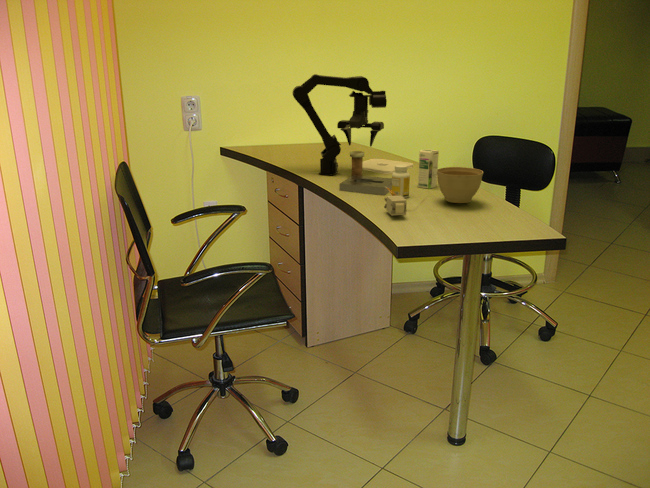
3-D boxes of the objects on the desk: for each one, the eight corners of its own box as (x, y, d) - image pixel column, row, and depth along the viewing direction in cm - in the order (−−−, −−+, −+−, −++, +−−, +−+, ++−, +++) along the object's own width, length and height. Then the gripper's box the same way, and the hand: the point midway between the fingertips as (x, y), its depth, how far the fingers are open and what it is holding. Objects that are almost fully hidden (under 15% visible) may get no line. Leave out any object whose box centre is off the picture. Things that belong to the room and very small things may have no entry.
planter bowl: (490, 202, 219) (492, 172, 216) (457, 208, 211) (459, 177, 208) (458, 192, 232) (460, 164, 229) (426, 198, 224) (427, 169, 221)
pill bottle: (410, 195, 229) (411, 164, 225) (407, 199, 223) (408, 168, 220) (393, 194, 231) (394, 163, 227) (389, 198, 225) (390, 166, 222)
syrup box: (417, 187, 241) (418, 150, 237) (424, 184, 246) (426, 148, 241) (430, 189, 238) (432, 152, 233) (437, 186, 243) (439, 150, 238)
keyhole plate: (339, 191, 236) (339, 183, 235) (352, 182, 250) (353, 175, 249) (384, 195, 229) (384, 187, 228) (395, 186, 243) (396, 178, 242)
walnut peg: (347, 181, 253) (347, 153, 249) (352, 178, 258) (352, 150, 254) (361, 182, 250) (361, 154, 247) (365, 179, 256) (366, 151, 252)
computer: (390, 177, 260) (390, 171, 259) (347, 171, 272) (347, 165, 271) (415, 169, 276) (415, 163, 275) (374, 163, 289) (374, 158, 288)
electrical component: (373, 198, 225) (373, 185, 223) (389, 198, 226) (389, 184, 224) (391, 216, 202) (391, 201, 201) (408, 215, 203) (409, 200, 202)
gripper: (332, 109, 248) (332, 147, 253) (376, 110, 241) (376, 150, 246) (341, 106, 257) (341, 143, 262) (384, 108, 251) (383, 146, 256)
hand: (360, 145), depth 256 cm, fingers open, 9 cm apart
